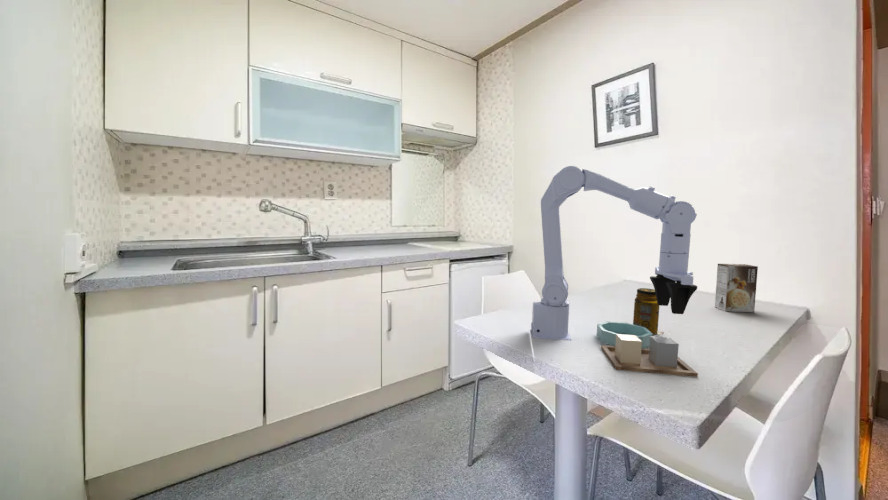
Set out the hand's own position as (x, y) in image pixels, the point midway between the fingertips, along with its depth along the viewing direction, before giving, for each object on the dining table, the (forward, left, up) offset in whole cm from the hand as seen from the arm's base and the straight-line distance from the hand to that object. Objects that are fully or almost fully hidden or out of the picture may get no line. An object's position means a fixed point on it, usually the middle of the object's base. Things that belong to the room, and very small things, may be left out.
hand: (669, 309), depth 82 cm
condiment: (-1, +13, -10) cm, 17 cm away
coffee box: (+40, +47, -10) cm, 63 cm away
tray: (-8, -10, -10) cm, 16 cm away
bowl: (-9, +3, -10) cm, 14 cm away
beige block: (-12, -10, -10) cm, 18 cm away
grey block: (-5, -10, -10) cm, 15 cm away
